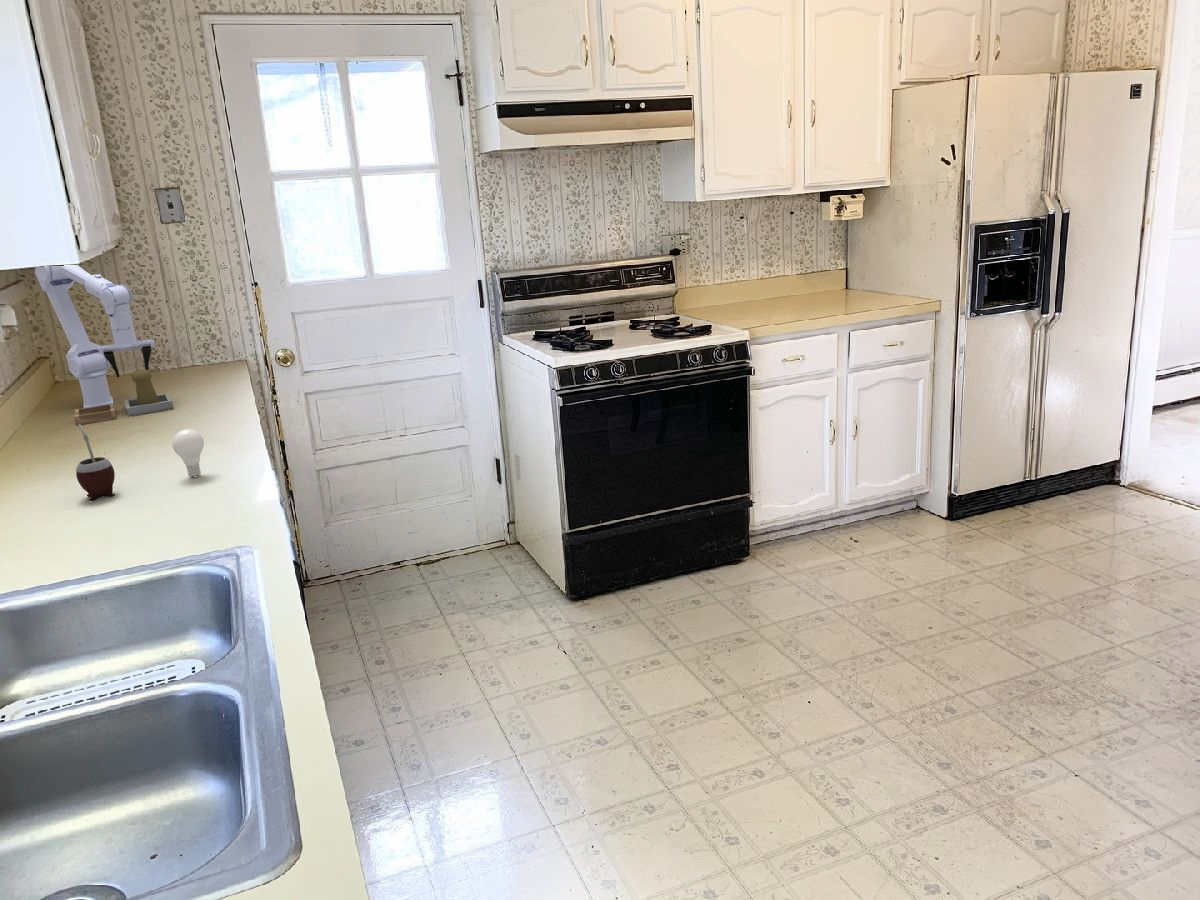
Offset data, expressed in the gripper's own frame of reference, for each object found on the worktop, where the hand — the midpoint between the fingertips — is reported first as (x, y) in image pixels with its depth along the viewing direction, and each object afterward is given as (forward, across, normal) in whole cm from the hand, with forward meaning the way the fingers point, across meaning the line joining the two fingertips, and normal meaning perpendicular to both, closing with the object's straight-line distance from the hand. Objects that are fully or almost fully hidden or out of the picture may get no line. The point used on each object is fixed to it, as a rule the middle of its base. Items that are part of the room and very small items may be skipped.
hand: (132, 374), depth 265 cm
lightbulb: (+10, +6, -82) cm, 83 cm away
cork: (+10, +2, -4) cm, 11 cm away
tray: (+10, +2, -3) cm, 11 cm away
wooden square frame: (+10, -12, -4) cm, 16 cm away
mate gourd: (+10, -13, -82) cm, 83 cm away
